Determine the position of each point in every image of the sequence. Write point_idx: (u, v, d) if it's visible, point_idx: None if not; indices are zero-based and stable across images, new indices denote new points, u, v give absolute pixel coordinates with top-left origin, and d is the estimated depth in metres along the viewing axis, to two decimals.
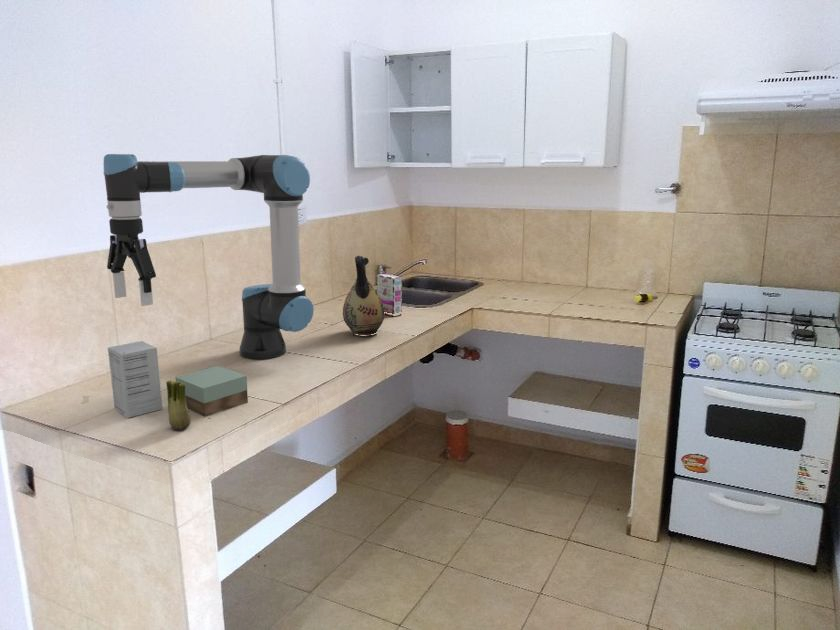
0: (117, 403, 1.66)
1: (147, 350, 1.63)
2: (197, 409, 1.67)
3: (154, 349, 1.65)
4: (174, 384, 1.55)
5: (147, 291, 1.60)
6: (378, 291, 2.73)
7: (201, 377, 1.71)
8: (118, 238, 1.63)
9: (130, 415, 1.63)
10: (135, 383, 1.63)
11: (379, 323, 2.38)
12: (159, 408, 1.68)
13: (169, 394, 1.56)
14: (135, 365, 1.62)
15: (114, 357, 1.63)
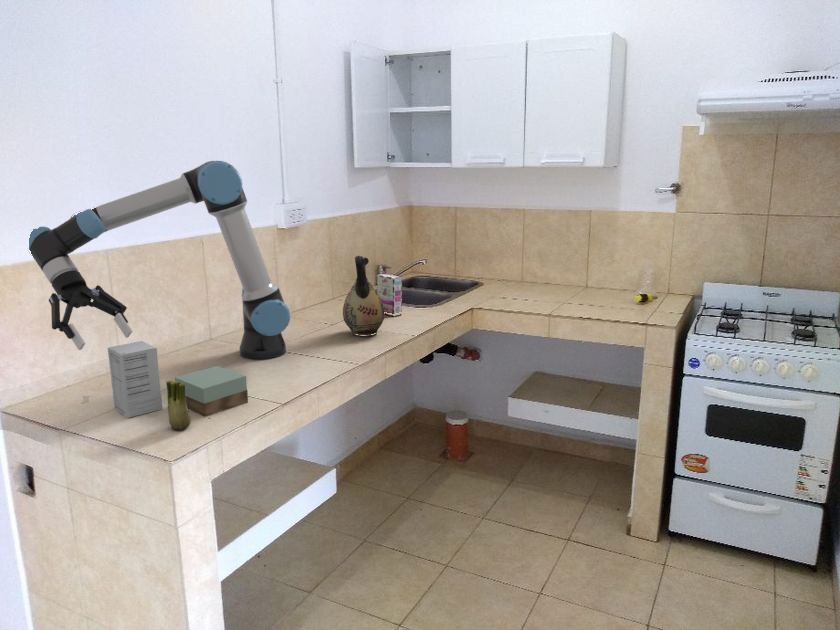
0: (117, 403, 1.66)
1: (147, 350, 1.63)
2: (197, 409, 1.67)
3: (154, 349, 1.65)
4: (174, 384, 1.55)
5: (68, 337, 1.63)
6: (378, 291, 2.73)
7: (201, 377, 1.71)
8: None
9: (130, 415, 1.63)
10: (135, 383, 1.62)
11: (379, 323, 2.38)
12: (159, 408, 1.68)
13: (169, 394, 1.56)
14: (135, 365, 1.62)
15: (113, 357, 1.63)
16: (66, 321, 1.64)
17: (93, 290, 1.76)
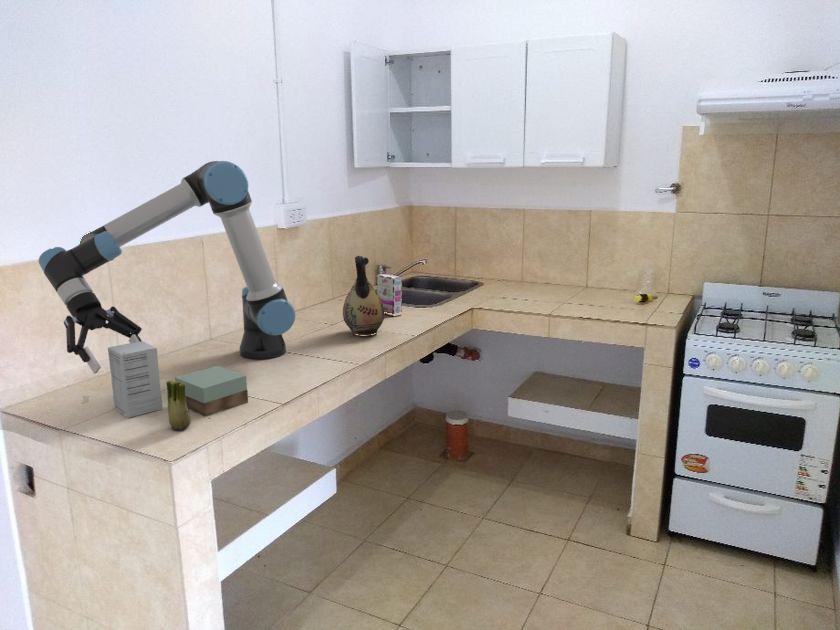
0: (117, 403, 1.66)
1: (147, 350, 1.63)
2: (197, 409, 1.67)
3: (154, 349, 1.65)
4: (174, 384, 1.55)
5: (84, 360, 1.61)
6: (378, 291, 2.73)
7: (201, 377, 1.71)
8: None
9: (130, 415, 1.63)
10: (135, 383, 1.62)
11: (379, 323, 2.38)
12: (159, 408, 1.68)
13: (169, 394, 1.56)
14: (135, 365, 1.62)
15: (114, 357, 1.63)
16: (81, 344, 1.61)
17: (108, 312, 1.74)
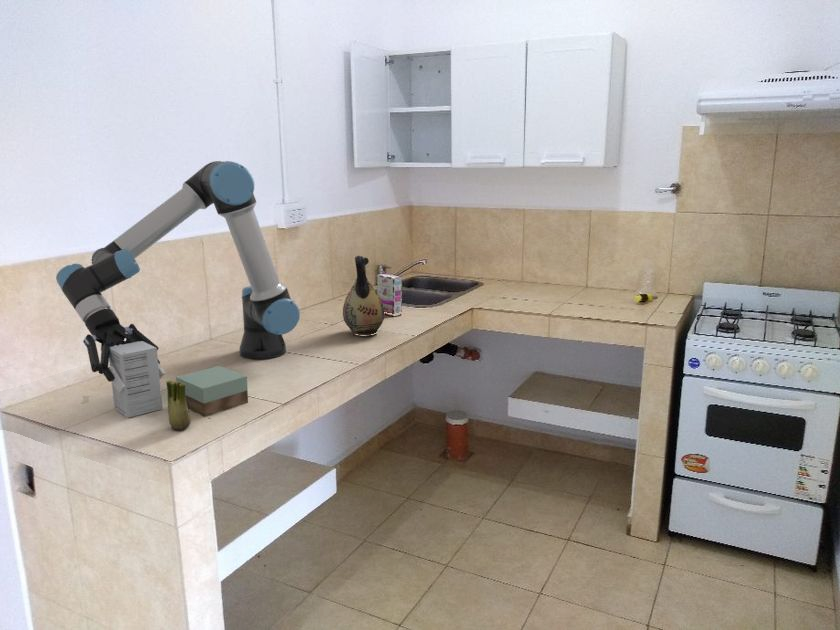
0: (117, 403, 1.66)
1: (147, 350, 1.63)
2: (197, 409, 1.67)
3: (154, 349, 1.65)
4: (174, 384, 1.55)
5: (108, 380, 1.60)
6: (378, 291, 2.73)
7: (201, 377, 1.71)
8: None
9: (130, 415, 1.63)
10: (135, 383, 1.62)
11: (379, 323, 2.38)
12: (159, 408, 1.68)
13: (169, 394, 1.56)
14: (135, 365, 1.62)
15: (113, 357, 1.63)
16: (106, 363, 1.61)
17: (127, 329, 1.72)
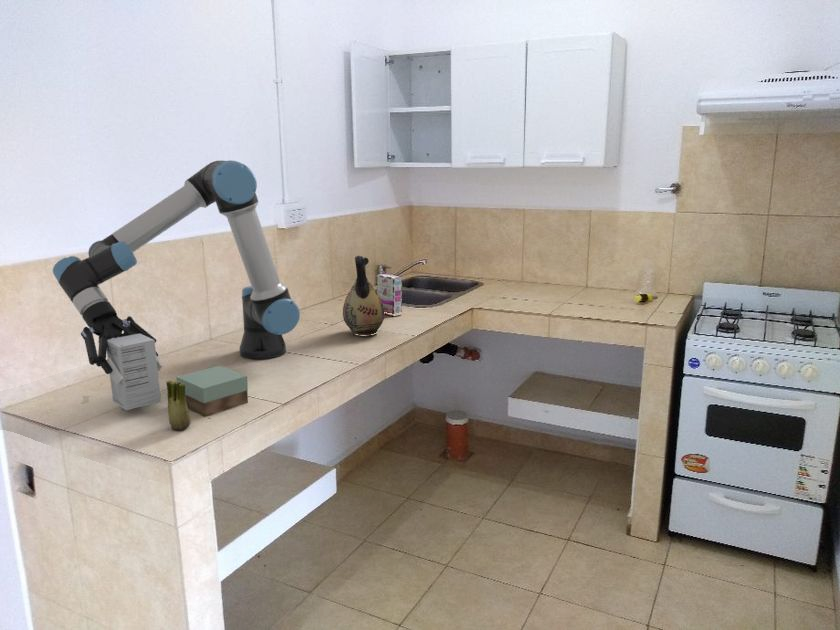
0: (116, 396, 1.65)
1: (144, 342, 1.63)
2: (197, 409, 1.66)
3: (152, 341, 1.64)
4: (174, 384, 1.55)
5: (106, 372, 1.60)
6: (378, 291, 2.73)
7: (202, 377, 1.71)
8: None
9: (128, 407, 1.62)
10: (133, 376, 1.62)
11: (379, 323, 2.38)
12: (157, 400, 1.68)
13: (169, 394, 1.56)
14: (132, 358, 1.61)
15: (111, 350, 1.62)
16: (103, 356, 1.60)
17: (124, 321, 1.72)
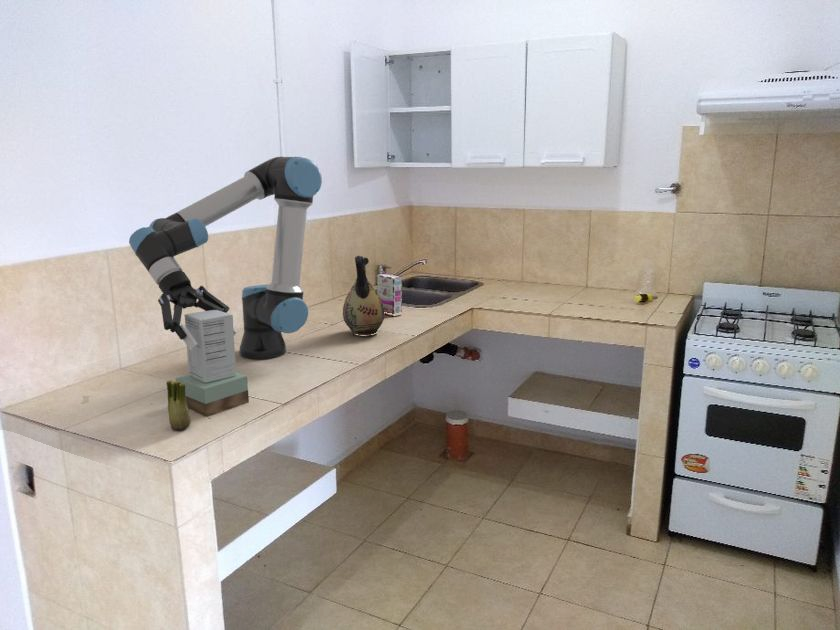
0: (193, 369, 1.69)
1: (224, 316, 1.67)
2: (198, 409, 1.67)
3: (230, 316, 1.68)
4: (174, 384, 1.55)
5: (180, 338, 1.62)
6: (378, 291, 2.73)
7: None
8: None
9: (207, 380, 1.67)
10: (213, 349, 1.66)
11: (379, 323, 2.38)
12: (233, 374, 1.72)
13: (169, 394, 1.56)
14: (213, 331, 1.65)
15: (191, 324, 1.66)
16: (178, 322, 1.62)
17: (197, 291, 1.75)
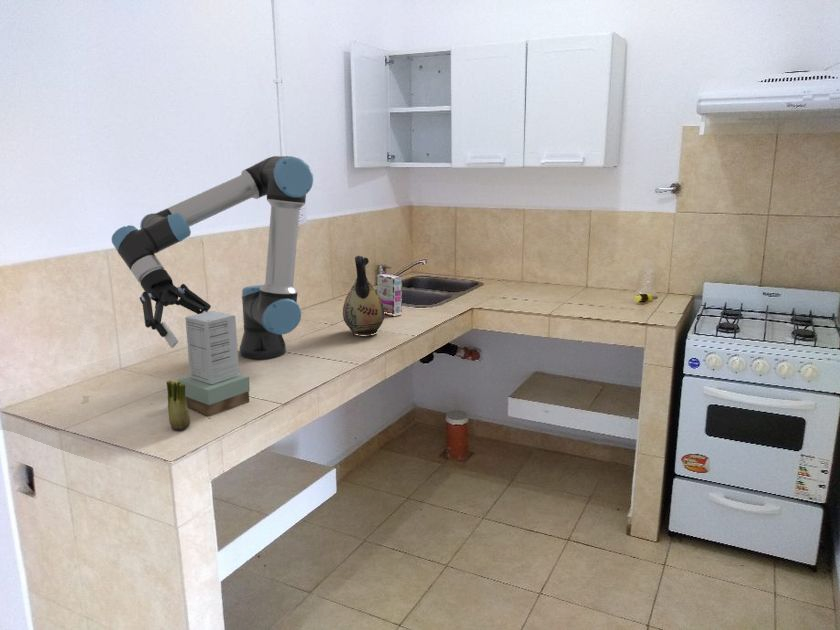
0: (197, 371, 1.69)
1: (227, 317, 1.68)
2: (199, 410, 1.67)
3: (233, 316, 1.69)
4: (174, 384, 1.55)
5: (161, 335, 1.65)
6: (378, 291, 2.73)
7: None
8: None
9: (213, 381, 1.67)
10: (218, 350, 1.66)
11: (379, 323, 2.38)
12: (237, 375, 1.73)
13: (169, 394, 1.56)
14: (218, 332, 1.66)
15: (195, 326, 1.66)
16: (159, 319, 1.65)
17: (179, 289, 1.77)
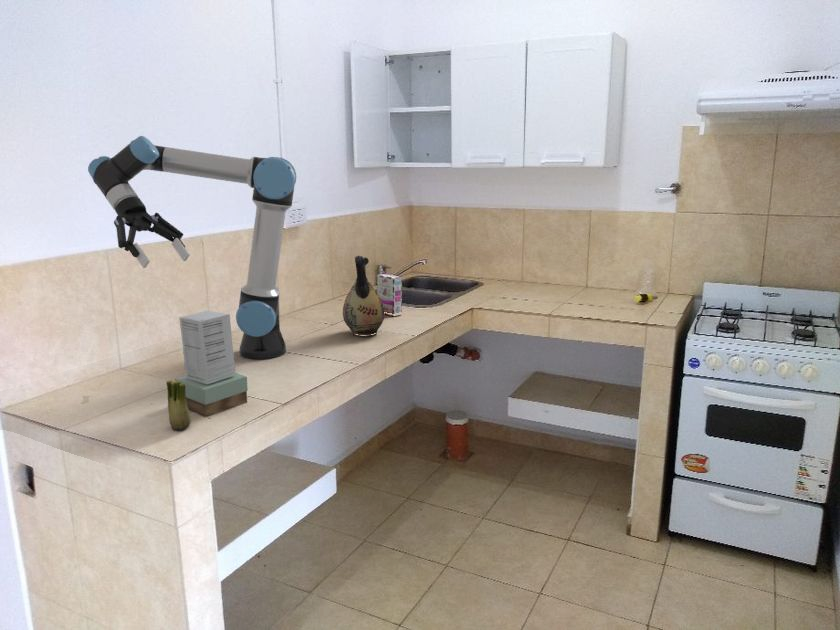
0: (192, 372, 1.68)
1: (221, 316, 1.66)
2: (196, 410, 1.66)
3: (227, 315, 1.68)
4: (174, 384, 1.55)
5: (134, 255, 1.74)
6: (378, 291, 2.73)
7: None
8: None
9: (209, 381, 1.65)
10: (213, 350, 1.65)
11: (379, 323, 2.38)
12: (233, 374, 1.71)
13: (169, 394, 1.56)
14: (212, 332, 1.64)
15: (189, 326, 1.64)
16: (131, 241, 1.74)
17: (153, 217, 1.87)
